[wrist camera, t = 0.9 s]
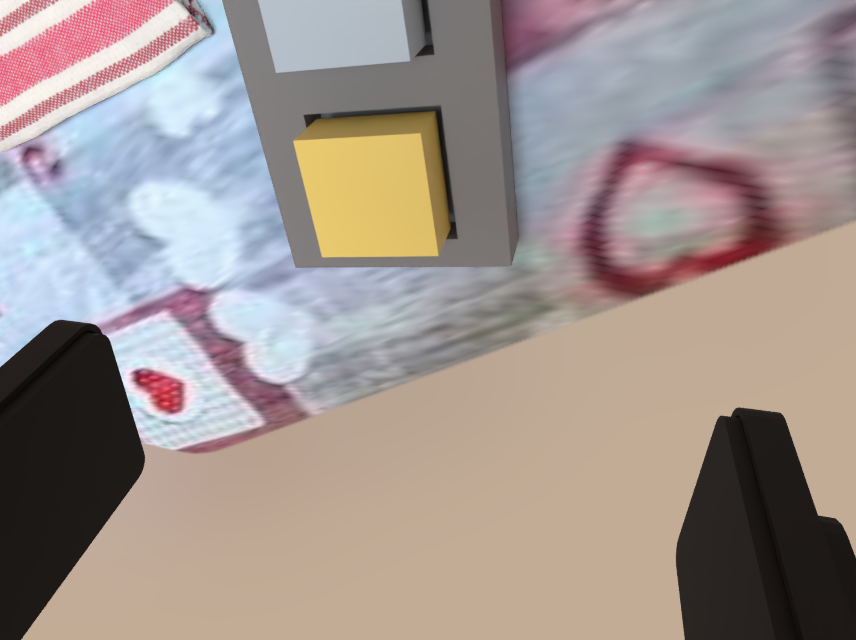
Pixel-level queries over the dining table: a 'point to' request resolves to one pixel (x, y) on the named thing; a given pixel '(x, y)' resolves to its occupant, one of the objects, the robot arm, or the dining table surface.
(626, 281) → the dining table surface
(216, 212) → the dining table surface
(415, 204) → the mustard button
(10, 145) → the dish towel
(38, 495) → the robot arm
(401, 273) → the dining table surface
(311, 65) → the blue button
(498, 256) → the button board
